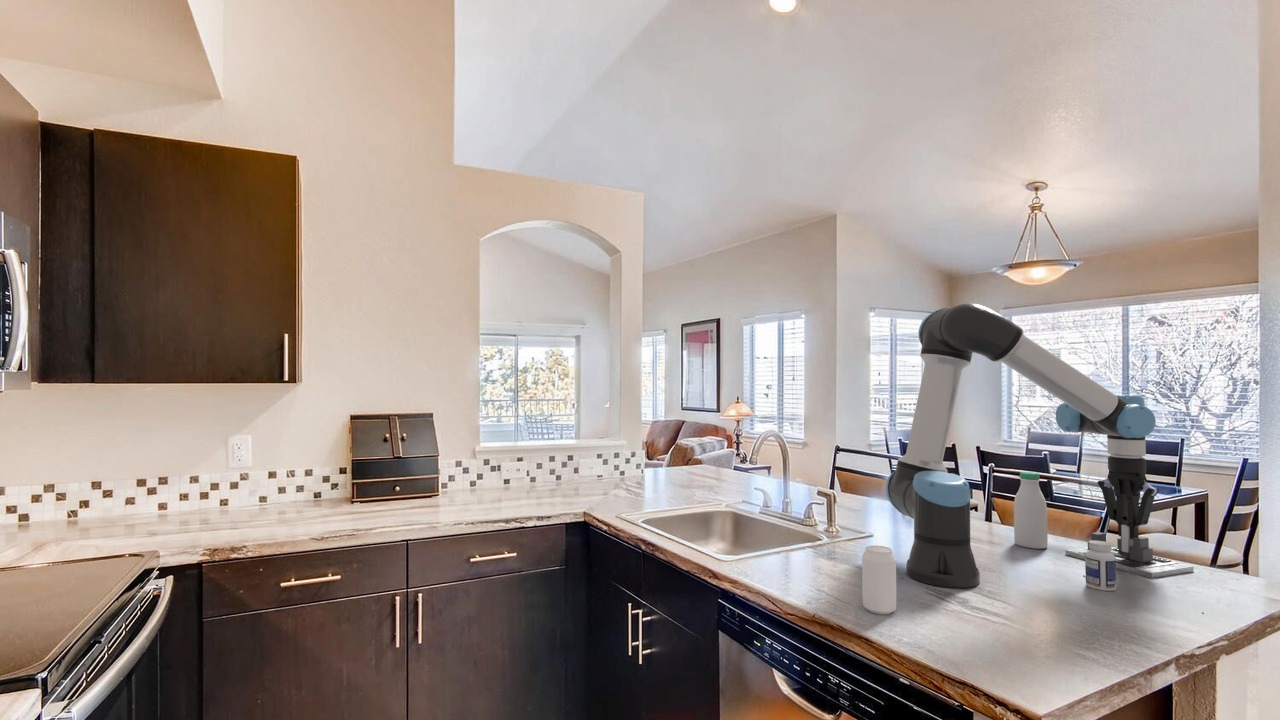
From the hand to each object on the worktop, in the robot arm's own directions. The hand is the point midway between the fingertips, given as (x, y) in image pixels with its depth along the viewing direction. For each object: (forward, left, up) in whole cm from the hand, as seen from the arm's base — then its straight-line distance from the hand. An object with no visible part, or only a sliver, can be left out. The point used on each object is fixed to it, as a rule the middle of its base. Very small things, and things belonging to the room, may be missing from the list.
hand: (1128, 551), depth 152 cm
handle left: (-6, +3, -1) cm, 7 cm away
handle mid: (0, -3, -1) cm, 3 cm away
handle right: (+5, +3, -1) cm, 7 cm away
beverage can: (-81, -5, -3) cm, 81 cm away
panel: (0, 0, -3) cm, 3 cm away
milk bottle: (-8, +20, -3) cm, 22 cm away
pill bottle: (-25, -10, -3) cm, 27 cm away
